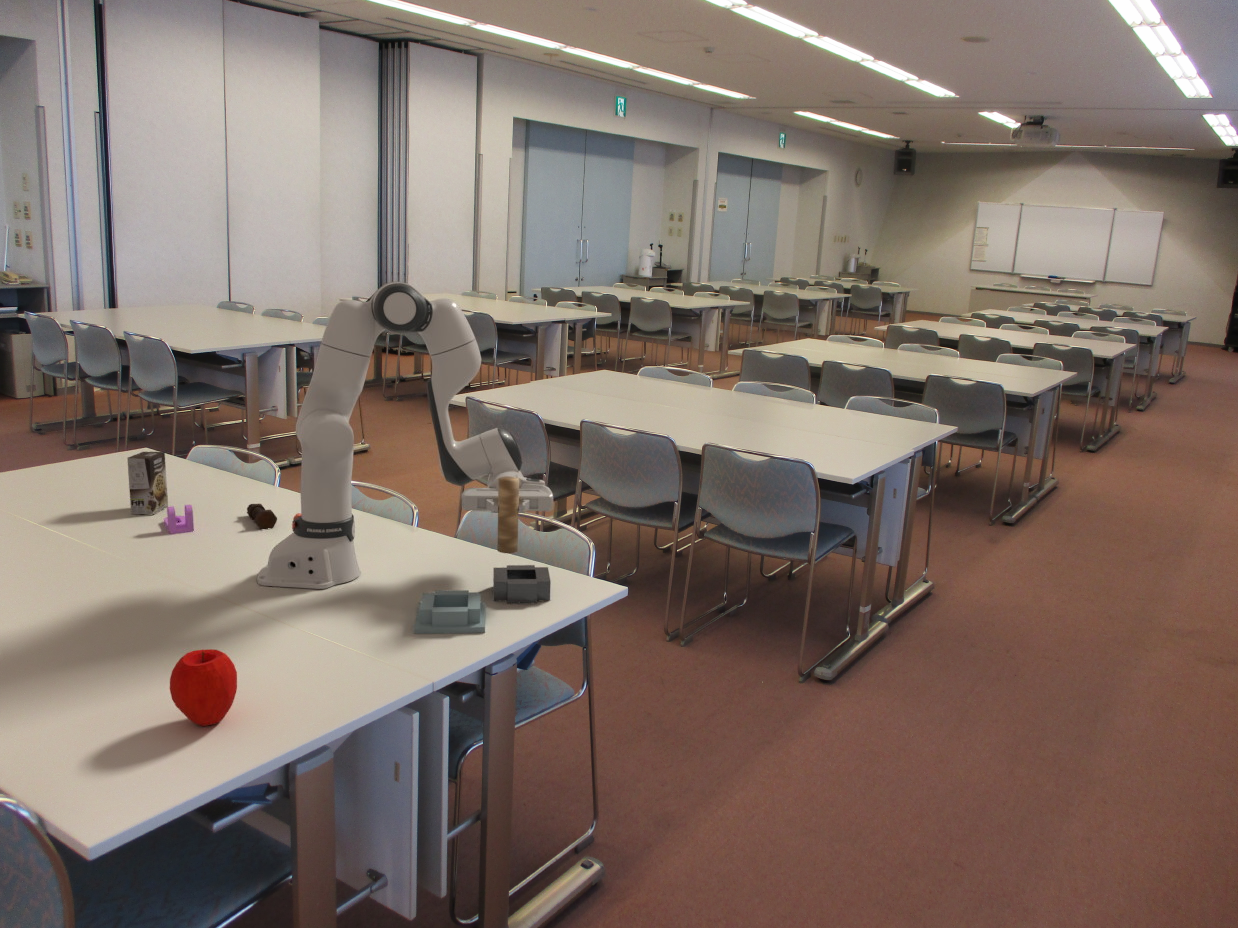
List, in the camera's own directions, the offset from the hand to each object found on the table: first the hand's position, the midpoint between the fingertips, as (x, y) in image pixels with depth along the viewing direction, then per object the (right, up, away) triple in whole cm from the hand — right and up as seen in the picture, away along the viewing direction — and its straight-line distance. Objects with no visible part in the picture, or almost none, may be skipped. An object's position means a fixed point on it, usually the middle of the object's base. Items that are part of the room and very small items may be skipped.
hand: (508, 509), depth 203 cm
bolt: (-74, -6, +54) cm, 92 cm away
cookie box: (-107, -3, +60) cm, 123 cm away
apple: (-42, -32, -52) cm, 74 cm away
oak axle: (-1, -9, +3) cm, 10 cm away
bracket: (-93, -7, +47) cm, 105 cm away
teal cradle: (-11, -22, -8) cm, 26 cm away
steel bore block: (+2, -19, +9) cm, 21 cm away
